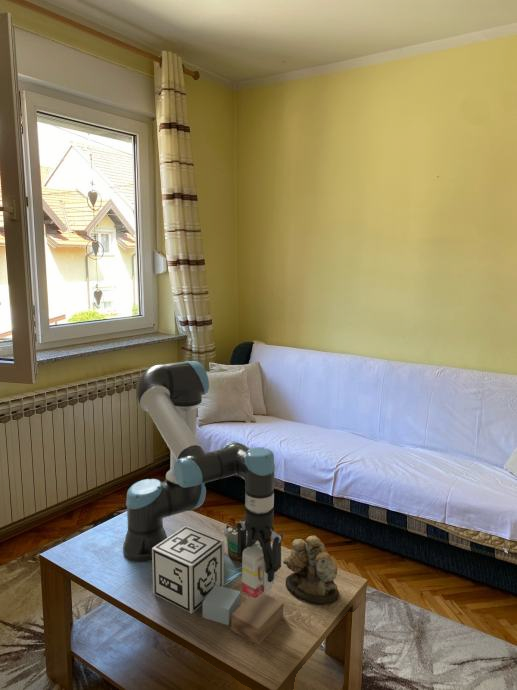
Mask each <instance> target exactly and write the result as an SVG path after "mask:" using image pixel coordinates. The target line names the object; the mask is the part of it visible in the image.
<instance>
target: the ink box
mask: <svg viewBox="0 0 517 690" xmlns="http://www.w3.org/2000/svg"><path fill="white" fill-rule="evenodd" d="M272 544H273V542H271V548H272ZM241 564H242V565H241V567H242V568H241V571H242V572H241V592H243V593H244V594H247V595H248V596H250V597H251V596H252V597H253V598H256V597H258V596H259V595H260V594H261V593H264V570H265V569H266V564H265V560H264V555H263V550H262V547H261V546H260V542H259V541H257V542H255V543H254V544H253V545H252V546H251V547H247V548H246V549H244V551H243V556H242V562H241ZM275 573H276V572H274V580H273V581H272V586H273V585H274V584H275V580H276V579H275V576H276V575H275Z"/></svg>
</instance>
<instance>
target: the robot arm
mask: <svg viewBox="0 0 517 690" xmlns="http://www.w3.org/2000/svg"><path fill="white" fill-rule="evenodd" d="M209 389H210V380H209V376H208V373H207V371H206V368H205V367H204V365H203V364H202V363H201V362H199V361H197V360H191V361H189V360H185V361H178V362H172V363H165V364H156V365H153V366H150V367H148V368H147V369H146V370H145V371H143V372H142V374H141V375H140V377H139V379H138V381H137V384H136V389H135V391H136V394H135V395H136V399H137V402H138V404H139V405H140V407H141V409H142V410H143V411H145V412H147V413H148V415H149V416H150V418H151V419H152V421H153V423H154V425H155V426H156V428H157V430H158V431H159V433H160V435H161V437H162V438H163V440H164V442H165V444H166V446H167V447H168V449H169V451H170V462H169V463H170V467H169V468H170V469H169V470H168V471H167V472H166V474H165V481H161V480H159V479H156V478H151V479H150V478H146V479H141V480H139V481H136V482H134V483H133V484H132V485H131V486H130V487H129V488H128V490H127V493H126V501H125V504H126V505H125V506H126V516H127V519H126V520H127V530H126V533H125V539H124V541H123V545H122V547H123V548H122V552H123V553H122V554H123V555H124V557H125V558H126V559H128V560H129V561H132V562H139V563H145V562H146V563H147V562H152V548H153V547H154V546H156V545H157V544H159V543H160V542H162V541H163V540H165V539H166V538H168V536H167V533H166V530H165V527H164V523H163V522H164V518H169V517H171V516H174V515H178V514H180V513H184V512H190V511H193V510H194V509H195V510H196V509H199V508H200V507H201V506H202V505H203V504H204V502H205V499H206V494H207V490H206V489H207V488H206V486H205V484H207V483H209V482H213V481H216V480H217V481H218V480H221V479H224V478H229V477H232V476H239V477H240V478H241V479H243V480H244V483H245V485H244V486H245V487H244V488H245V489H244V491H245V494H244V495H245V498H244V502H245V504H244V506H245V507H244V519H241V520H240V521H238V522H237V523H236V524H235V527H237V531H238V543H237V556H238V557H241V558H242V556H243V551H244V549H246V548H247V547H251V546H252V545H253V544H254V543H255V541H256V540H257V541H259V542H260V546H261V547H262V550H263V555H264V560H265V564H266V569H265V570H264V592H263V593H264V594H266V595H268V593H269V591H271V590H272V589H273V587H272V586H273V585H272V581H273V580H274V572H275V573H276V572H278V570H280V569H281V568H282V541H283V538H284V535H283V533H279V534H278V533H277V532H275V529H274V526H273V524H274V516H275V515H274V513H275V510H274V504H275V502H274V501H275V469H276V464H275V454H274V452H273V450H271V449H269V448H264V447H262V446H260V447H259V446H258V447H252V448H249V447H247V446H246V445H245V444H243V443H240V442H238V441H235V440H233V441H232V440H231V441H228V442H226V443H225V444H223V445H222V446H221V448H220V449H217V450H213V451H209V452H208V451H207V452H205V451H204V449H203V447H202V446H201V444H200V443H199V441H198V440H197V424H198V423H197V414H198V406H200V405H201V404H202V399H203V398H202V397H203V396H205V395H206V394H208V393H209V392H208V391H209ZM246 531H248V533H249V534H248V538H247V544H246ZM271 543H272V548H271ZM274 581H275V580H274Z"/></svg>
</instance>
